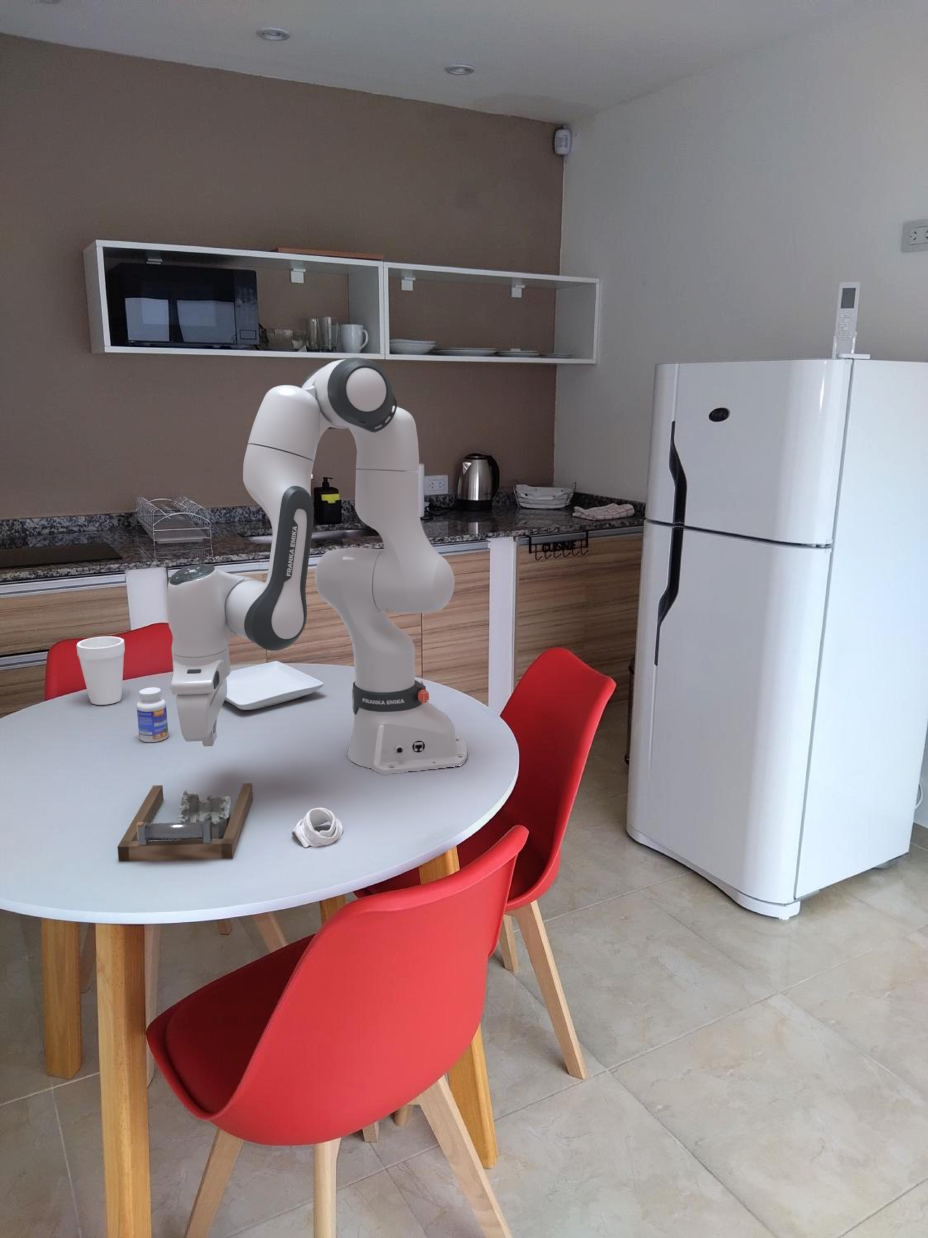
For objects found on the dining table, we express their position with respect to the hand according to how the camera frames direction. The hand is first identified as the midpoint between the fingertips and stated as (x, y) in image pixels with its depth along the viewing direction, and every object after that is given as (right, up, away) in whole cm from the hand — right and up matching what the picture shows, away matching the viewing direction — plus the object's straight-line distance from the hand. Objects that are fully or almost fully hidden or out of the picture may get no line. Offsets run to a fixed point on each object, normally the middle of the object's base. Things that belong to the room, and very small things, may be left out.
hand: (210, 742), depth 148 cm
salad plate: (-3, +4, +50) cm, 50 cm away
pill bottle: (-18, -3, +25) cm, 31 cm away
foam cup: (-35, +3, +45) cm, 57 cm away
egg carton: (0, -13, -12) cm, 18 cm away
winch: (+1, -12, -20) cm, 23 cm away
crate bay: (0, -12, -11) cm, 16 cm away
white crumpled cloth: (+20, -13, -13) cm, 27 cm away
